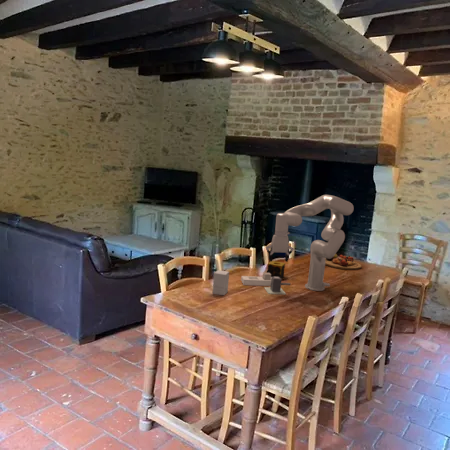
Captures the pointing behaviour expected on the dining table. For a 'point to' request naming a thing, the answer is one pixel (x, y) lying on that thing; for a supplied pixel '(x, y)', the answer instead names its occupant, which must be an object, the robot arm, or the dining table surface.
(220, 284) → the supplement box
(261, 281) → the power strip
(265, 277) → the small plug
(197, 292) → the dining table surface
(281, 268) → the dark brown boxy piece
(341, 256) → the wooden plate with food
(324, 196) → the robot arm
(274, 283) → the block
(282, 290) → the felt pad
